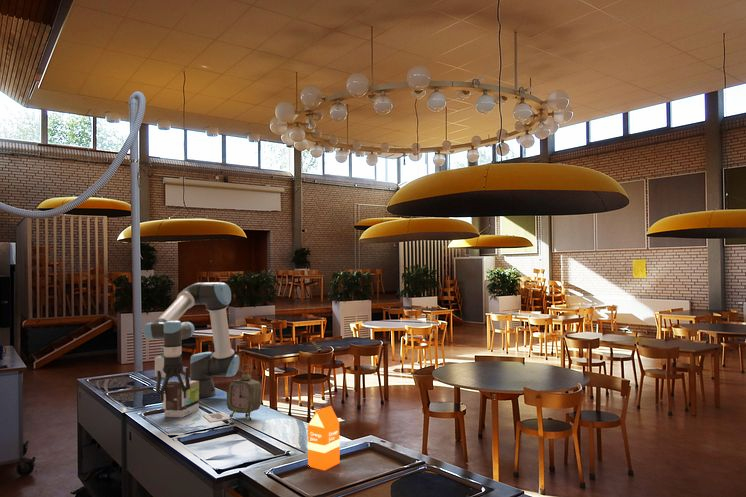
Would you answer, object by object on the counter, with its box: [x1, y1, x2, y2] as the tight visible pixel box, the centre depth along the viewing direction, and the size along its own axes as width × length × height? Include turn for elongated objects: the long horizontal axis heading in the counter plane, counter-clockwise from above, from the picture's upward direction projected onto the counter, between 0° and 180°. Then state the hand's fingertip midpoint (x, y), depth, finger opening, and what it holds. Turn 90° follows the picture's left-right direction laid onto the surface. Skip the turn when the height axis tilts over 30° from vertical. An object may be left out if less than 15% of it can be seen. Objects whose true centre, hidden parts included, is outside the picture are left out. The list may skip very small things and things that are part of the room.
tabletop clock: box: [226, 363, 263, 422], centre depth 258 cm, size 14×9×25 cm, turn 64°
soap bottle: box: [154, 346, 166, 379], centre depth 359 cm, size 9×9×19 cm
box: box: [164, 381, 181, 411], centre depth 246 cm, size 6×4×12 cm
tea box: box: [164, 379, 200, 418], centre depth 268 cm, size 15×10×15 cm, turn 168°
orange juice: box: [307, 405, 341, 471], centre depth 197 cm, size 8×9×20 cm
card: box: [202, 411, 232, 423], centre depth 260 cm, size 10×13×1 cm
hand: (173, 407), depth 246 cm, fingers closed on box, 7 cm apart
